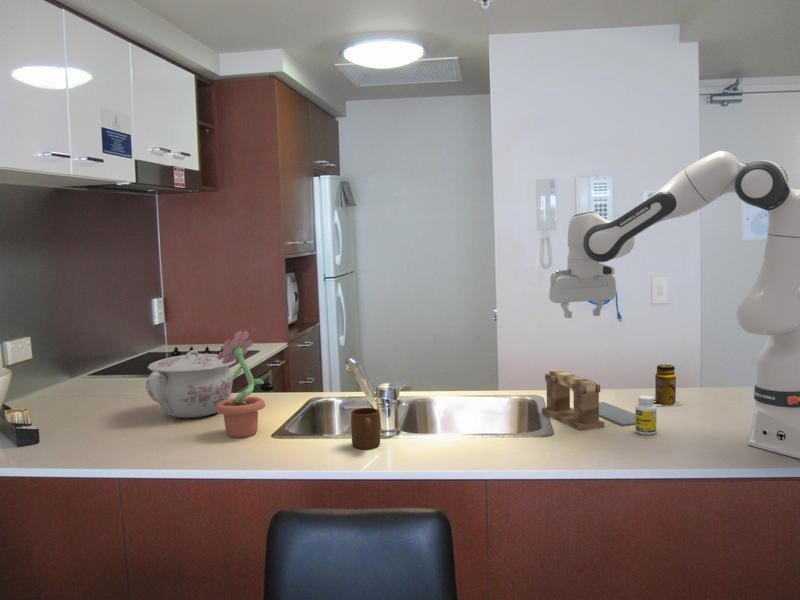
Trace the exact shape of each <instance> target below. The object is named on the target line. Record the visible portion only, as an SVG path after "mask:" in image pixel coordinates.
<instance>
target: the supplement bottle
mask: <svg viewBox="0 0 800 600" xmlns="http://www.w3.org/2000/svg"><path fill="white" fill-rule="evenodd" d="M654 397H655V396H651V395H639V396H638V397H637V398H638V399H637V400H638V403H637V404H636V405H635V414H636V423H635V425H634V427H635V428H634V429H635V432H636V433H637V434H641V435H648V436H649V435H650V436H651V435H655V434H656V433H657V406H655V405H653V403H654V400H655V399H654Z"/></svg>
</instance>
